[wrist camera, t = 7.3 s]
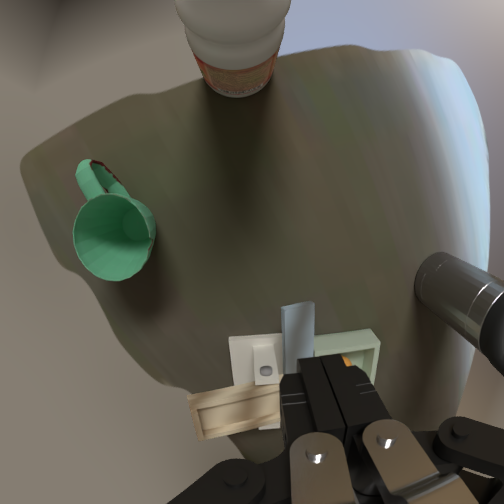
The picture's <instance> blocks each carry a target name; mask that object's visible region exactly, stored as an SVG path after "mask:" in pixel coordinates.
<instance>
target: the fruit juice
mask: <svg viewBox="0 0 504 504" xmlns="http://www.w3.org/2000/svg"><path fill="white" fill-rule="evenodd" d="M174 3H175V7H176V11H177V14H178V16H179V18H180V19H181V21H182V22H183V24H184V27H185V34H186V37H187V41H188V44H189V46H190V48H191V50H192V52H193V54H194V56H195V59H196V61H197V64H198V66H199V68H200V70H201V73H202V75H203V77H204V80H205V81H206V83H207V84H208V85H209V86H210V87H211V88H212V89H213V90H214V91H216V92H217V93H219V94H221V95H224V96H227V97H233V98H241V97H247V96H250V95H253V94H255V93H257V92H258V91H260V90H261V89H262V88H263V87H264V86H265V85H266V84H267V83H268V81H269V80H270V78H271V76H272V73H273V70H274V66H275V62H276V59H277V55H278V52H279V48H280V45H281V42H282V39H283V34H284V28H285V16H286V15H287V13H288V10H289V8H290V4H291V0H174Z"/></svg>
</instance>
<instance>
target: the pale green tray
mask: <svg viewBox="0 0 504 504" xmlns="http://www.w3.org/2000/svg"><path fill="white" fill-rule="evenodd" d="M379 349H380V341H379V340H378V338H377V337H376V336H375V334H374V333H373V332H372V330H371V329H363V330H356V331H348V332H341V333H333V334H324V335H315V336H314V354H313V357H317V356H318V357H319V356H324V355H332V354H341V356H345V357H347V358H348V359H349V360H350V361H351V363H352V365H356V366H358V367H359V368H360V369H362V370H363V371H365V372H366V374H367V376H368V377H369V379H370V381H371V384H373V385H374V380H375V374H376V368H377V362H378V355H379Z"/></svg>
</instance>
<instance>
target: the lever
mask: <svg viewBox="0 0 504 504" xmlns="http://www.w3.org/2000/svg"><path fill="white" fill-rule="evenodd" d="M314 307H315V303H313V302H312V301H307V302H302V303H298V304H293V305H288V306H284V307H281V318H282V353H283V374H280V375H279V383H280V381H281V379H282V377H283V375H284V374H291V373H296V365H297V359H299V358H308V357H313V354H314ZM187 399H188V403H189V407H190V411H191V415H192V419H193V422H194V426H195V430H196V434H197V437H198V441H203V440H206V439H211V438H216V437H220V436H225V435H230V434H234V433H238V432H242V431H246V430H250V429H254V428H258V427H262V426H265V425H269V424H272V423H276V422H279V421H281V419H280V398H279V384H266V385H255V381H253V382H249V383H245V384H240V385H236V386H231V387H227V388H222V389H217V390H212V391H207V392H202V393H197V394H191V395H187Z"/></svg>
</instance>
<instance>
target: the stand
mask: <svg viewBox="0 0 504 504" xmlns="http://www.w3.org/2000/svg"><path fill="white" fill-rule="evenodd" d="M229 348H230V356H231V364H232V372H233V380H234V386H236V385H240V384H245V383H249V382H253V381H255V385H266V384H279V375H280V374H283V353H282V333H277V334H264V335H250V336H233V337H229ZM275 428H280V421H279V422H276V423H272V424H269V425H265V426H262V427H259V430H262V429H275Z"/></svg>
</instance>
